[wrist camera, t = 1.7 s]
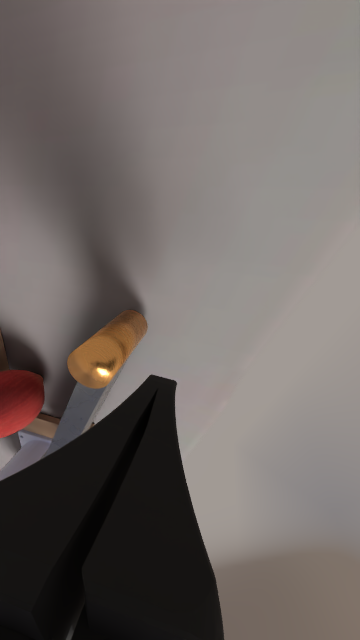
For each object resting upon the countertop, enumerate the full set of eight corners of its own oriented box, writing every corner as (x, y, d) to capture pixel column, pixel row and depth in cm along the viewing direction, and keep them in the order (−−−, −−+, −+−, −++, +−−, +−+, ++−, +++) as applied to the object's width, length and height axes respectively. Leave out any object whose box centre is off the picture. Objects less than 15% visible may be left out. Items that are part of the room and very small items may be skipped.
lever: (81, 451, 25) (42, 513, 19) (58, 438, 25) (12, 497, 19) (156, 322, 16) (123, 368, 11) (121, 301, 16) (69, 337, 10)
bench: (94, 445, 26) (61, 501, 20) (1, 416, 27) (-54, 462, 22) (93, 345, 20) (45, 389, 14) (-28, 315, 21) (-114, 343, 16)
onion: (10, 377, 24) (-81, 440, 16) (22, 345, 21) (-79, 402, 14) (53, 404, 24) (-17, 477, 17) (70, 375, 22) (-5, 446, 15)
